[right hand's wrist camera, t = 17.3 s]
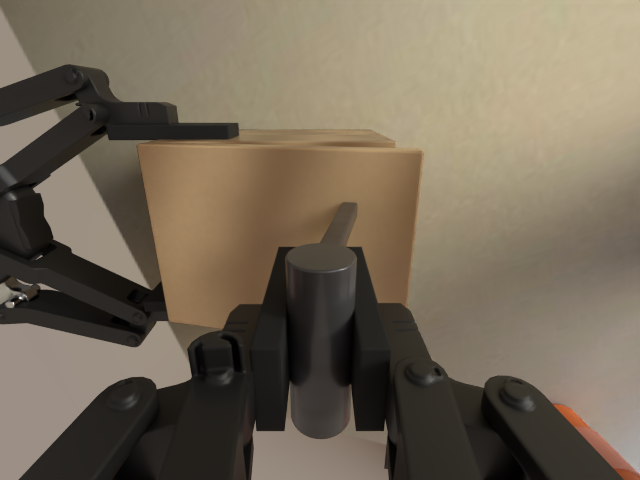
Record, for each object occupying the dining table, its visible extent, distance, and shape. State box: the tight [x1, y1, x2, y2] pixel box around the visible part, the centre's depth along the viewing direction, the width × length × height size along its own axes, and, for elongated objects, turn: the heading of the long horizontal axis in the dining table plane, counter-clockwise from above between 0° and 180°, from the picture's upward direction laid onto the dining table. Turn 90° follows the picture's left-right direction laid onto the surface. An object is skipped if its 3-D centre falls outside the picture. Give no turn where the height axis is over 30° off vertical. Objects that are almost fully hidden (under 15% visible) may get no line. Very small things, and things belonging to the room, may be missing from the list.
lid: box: [137, 142, 424, 439], centre depth 15 cm, size 13×10×8 cm
